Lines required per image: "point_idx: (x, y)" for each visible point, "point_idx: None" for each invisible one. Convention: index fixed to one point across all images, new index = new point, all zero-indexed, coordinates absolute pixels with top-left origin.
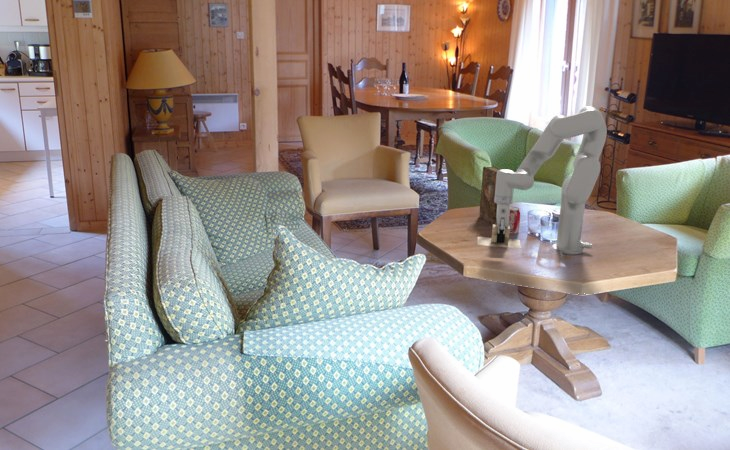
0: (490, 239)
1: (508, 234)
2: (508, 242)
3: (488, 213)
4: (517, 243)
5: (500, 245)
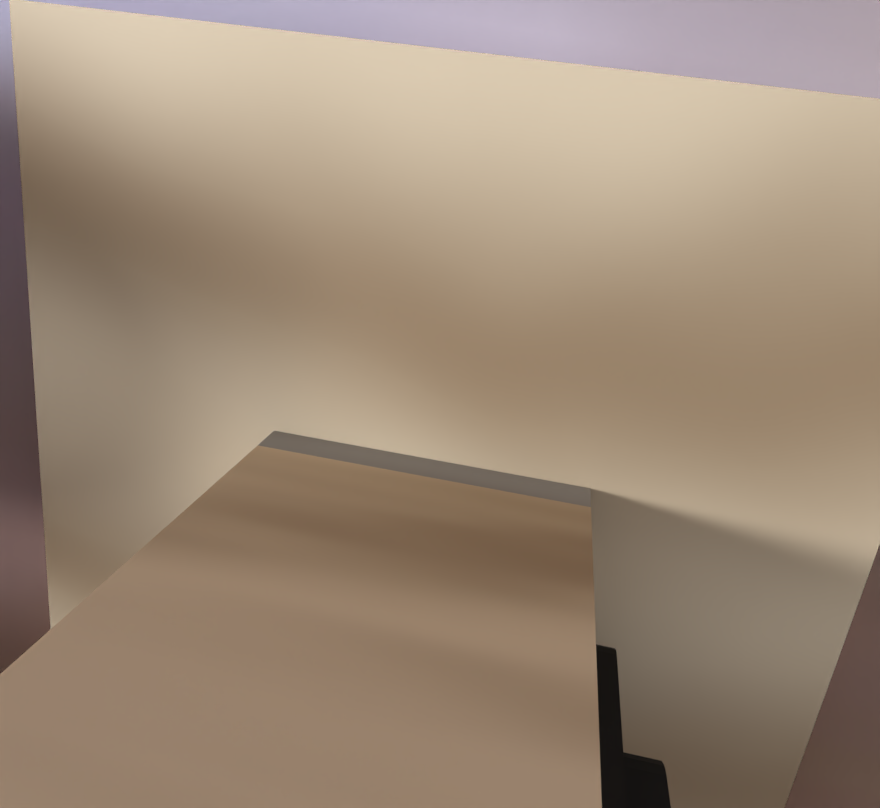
0: None
1: (593, 746)
2: (367, 432)
3: None
4: (429, 156)
5: (683, 709)
